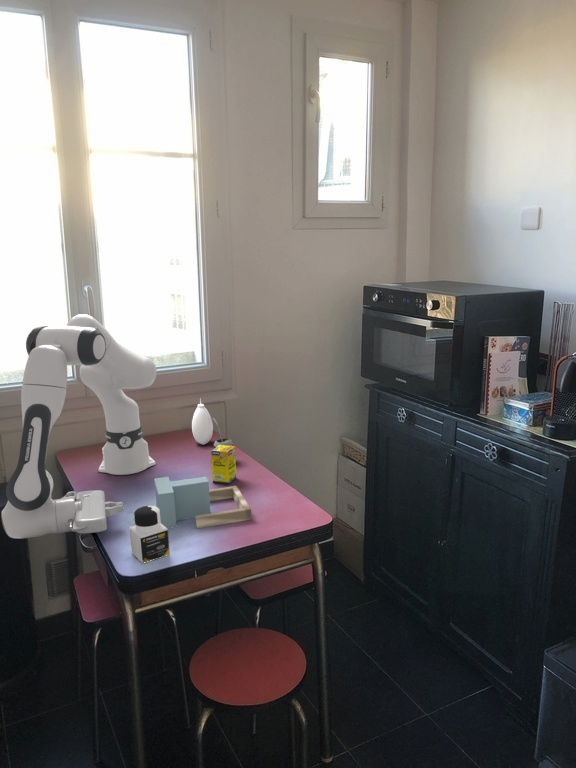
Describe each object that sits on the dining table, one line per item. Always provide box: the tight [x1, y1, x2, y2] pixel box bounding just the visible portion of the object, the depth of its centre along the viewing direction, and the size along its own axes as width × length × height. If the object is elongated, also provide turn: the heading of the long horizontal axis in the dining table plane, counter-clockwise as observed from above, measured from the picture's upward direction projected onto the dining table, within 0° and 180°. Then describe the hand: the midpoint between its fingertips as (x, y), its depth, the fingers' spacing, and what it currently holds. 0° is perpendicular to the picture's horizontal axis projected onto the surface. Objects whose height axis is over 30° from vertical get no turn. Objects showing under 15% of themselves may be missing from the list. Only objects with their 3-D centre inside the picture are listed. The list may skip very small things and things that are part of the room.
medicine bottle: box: [129, 505, 171, 564], centre depth 152 cm, size 7×7×12 cm
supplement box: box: [210, 445, 237, 485], centre depth 198 cm, size 6×6×11 cm
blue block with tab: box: [153, 476, 211, 529], centre depth 173 cm, size 12×14×10 cm
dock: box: [195, 485, 252, 529], centre depth 176 cm, size 18×15×3 cm
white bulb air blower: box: [191, 397, 214, 446], centre depth 234 cm, size 8×8×18 cm
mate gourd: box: [212, 417, 235, 450], centre depth 214 cm, size 8×8×15 cm
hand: (123, 506), depth 168 cm, fingers closed
